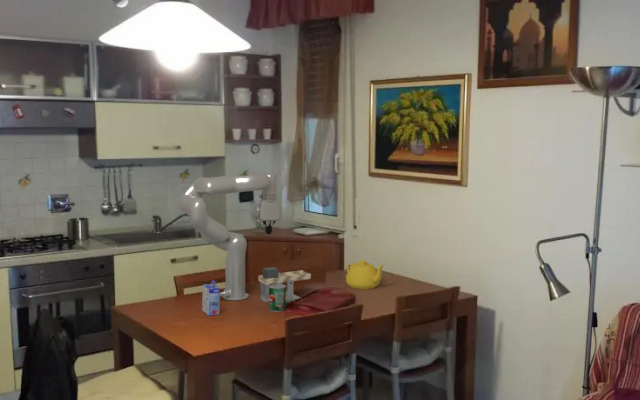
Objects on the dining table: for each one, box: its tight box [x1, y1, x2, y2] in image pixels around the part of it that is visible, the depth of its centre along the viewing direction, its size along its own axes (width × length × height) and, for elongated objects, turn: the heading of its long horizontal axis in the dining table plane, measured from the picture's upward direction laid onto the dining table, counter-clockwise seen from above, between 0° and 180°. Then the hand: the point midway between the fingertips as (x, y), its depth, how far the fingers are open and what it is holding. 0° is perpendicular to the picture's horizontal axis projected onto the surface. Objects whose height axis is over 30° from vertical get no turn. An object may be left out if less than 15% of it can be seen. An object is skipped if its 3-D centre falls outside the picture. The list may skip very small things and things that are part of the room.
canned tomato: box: [268, 283, 287, 313], centre depth 298 cm, size 8×8×11 cm
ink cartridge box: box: [201, 279, 221, 317], centre depth 292 cm, size 10×6×14 cm, turn 27°
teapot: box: [345, 259, 385, 290], centre depth 344 cm, size 25×18×14 cm
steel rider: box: [262, 266, 279, 279], centre depth 314 cm, size 6×5×5 cm
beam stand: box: [260, 280, 301, 303], centre depth 317 cm, size 16×16×10 cm
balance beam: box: [257, 269, 312, 285], centre depth 318 cm, size 24×9×3 cm, turn 119°
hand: (268, 233), depth 328 cm, fingers closed
